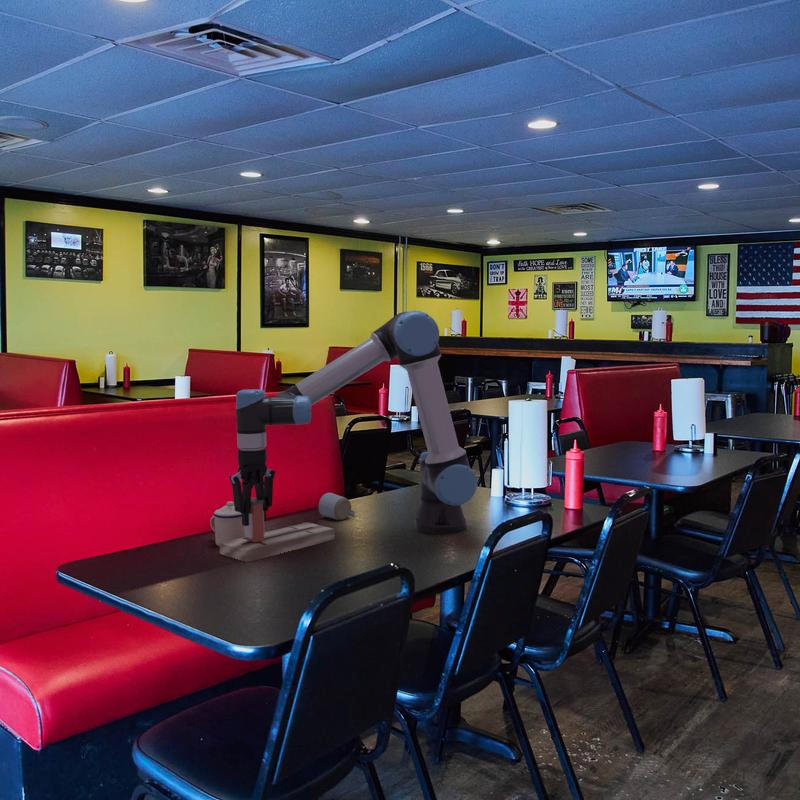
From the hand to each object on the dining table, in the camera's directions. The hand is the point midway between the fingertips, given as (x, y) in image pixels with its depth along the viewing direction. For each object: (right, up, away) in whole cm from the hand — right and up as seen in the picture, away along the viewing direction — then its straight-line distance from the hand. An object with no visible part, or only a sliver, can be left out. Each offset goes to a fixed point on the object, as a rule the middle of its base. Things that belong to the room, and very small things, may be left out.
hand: (254, 535), depth 218 cm
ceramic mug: (+19, -1, +39) cm, 44 cm away
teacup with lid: (-9, -4, +11) cm, 15 cm away
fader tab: (0, -1, 0) cm, 1 cm away
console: (+6, -4, +6) cm, 9 cm away
